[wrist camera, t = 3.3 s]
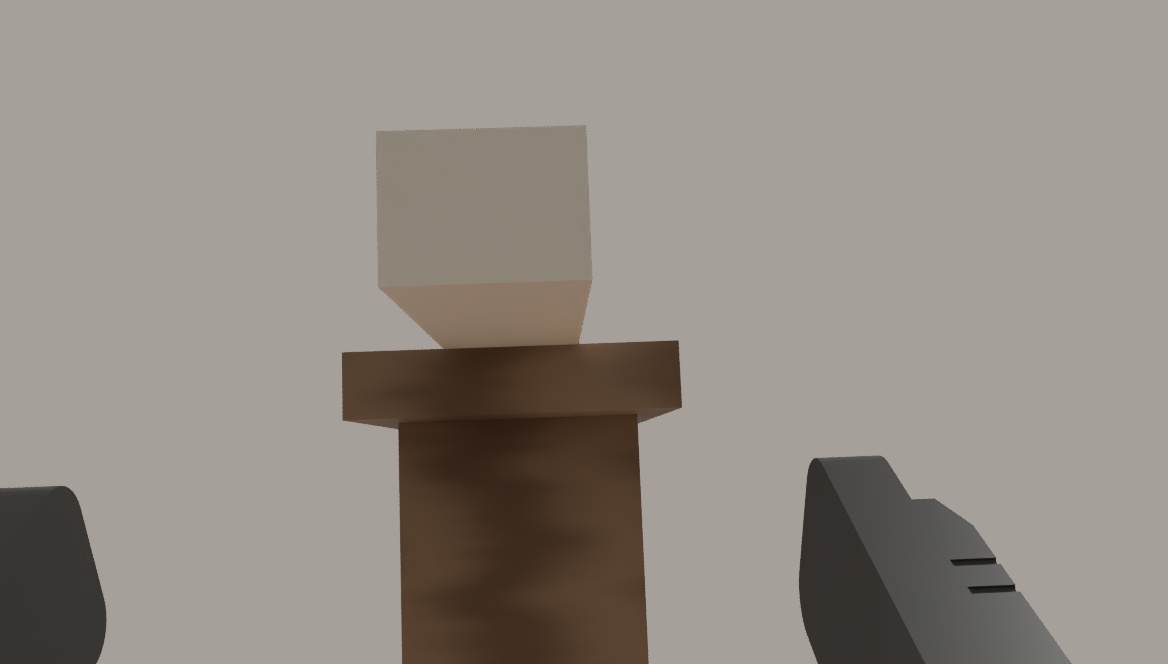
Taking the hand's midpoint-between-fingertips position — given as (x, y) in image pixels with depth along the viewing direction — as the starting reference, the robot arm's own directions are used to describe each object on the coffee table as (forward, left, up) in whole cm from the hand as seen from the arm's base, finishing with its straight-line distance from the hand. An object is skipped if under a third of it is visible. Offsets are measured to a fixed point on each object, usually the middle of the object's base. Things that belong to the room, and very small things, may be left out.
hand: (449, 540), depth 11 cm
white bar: (0, +21, +2) cm, 22 cm away
